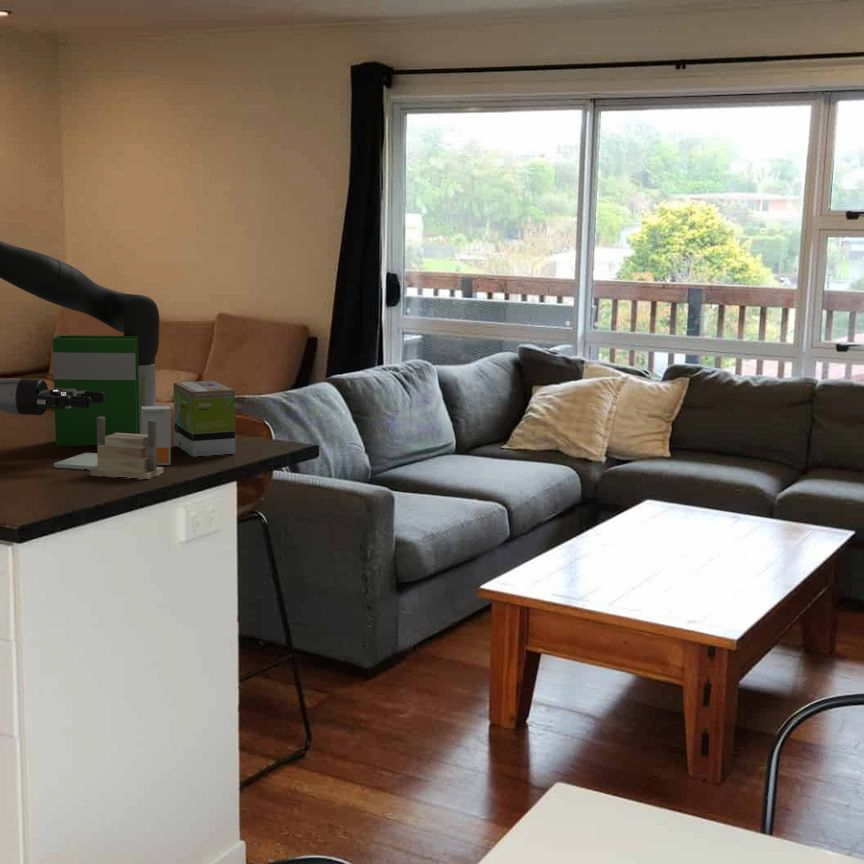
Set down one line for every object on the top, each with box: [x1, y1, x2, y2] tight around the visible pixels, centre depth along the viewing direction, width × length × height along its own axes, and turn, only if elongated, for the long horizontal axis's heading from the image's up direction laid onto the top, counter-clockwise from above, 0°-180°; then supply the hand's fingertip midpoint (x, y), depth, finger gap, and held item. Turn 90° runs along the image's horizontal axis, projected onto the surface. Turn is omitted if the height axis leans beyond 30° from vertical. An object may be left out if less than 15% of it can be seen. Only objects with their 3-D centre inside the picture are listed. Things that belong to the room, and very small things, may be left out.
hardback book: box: [52, 334, 140, 447], centre depth 273 cm, size 18×7×24 cm, turn 98°
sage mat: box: [53, 452, 98, 471], centre depth 252 cm, size 13×9×1 cm
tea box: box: [173, 380, 236, 458], centre depth 268 cm, size 15×10×15 cm, turn 27°
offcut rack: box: [89, 417, 165, 480], centre depth 241 cm, size 7×12×11 cm, turn 77°
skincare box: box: [141, 405, 172, 466], centre depth 252 cm, size 6×4×12 cm
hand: (97, 400), depth 251 cm, fingers open, 8 cm apart
